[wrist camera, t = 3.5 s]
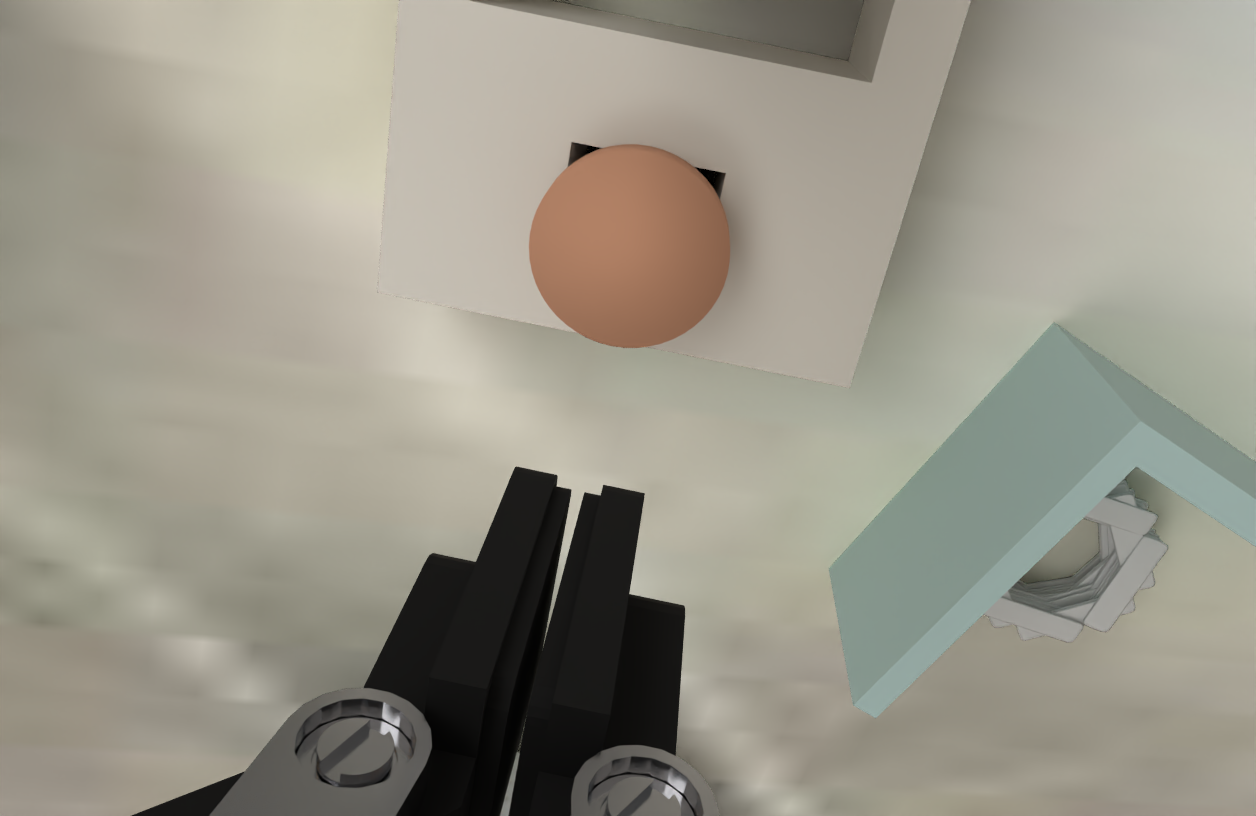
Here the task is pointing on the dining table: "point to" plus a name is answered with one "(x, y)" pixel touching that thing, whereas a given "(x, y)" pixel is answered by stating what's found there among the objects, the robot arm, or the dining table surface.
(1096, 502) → the right angle wall
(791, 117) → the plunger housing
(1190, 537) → the dining table surface
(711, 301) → the chicken egg
